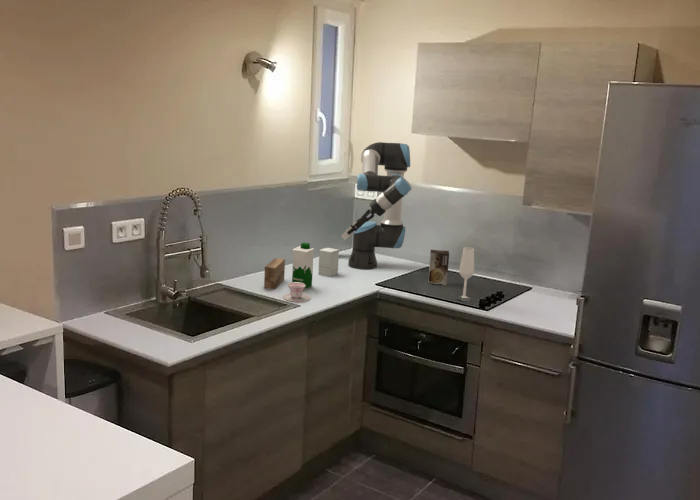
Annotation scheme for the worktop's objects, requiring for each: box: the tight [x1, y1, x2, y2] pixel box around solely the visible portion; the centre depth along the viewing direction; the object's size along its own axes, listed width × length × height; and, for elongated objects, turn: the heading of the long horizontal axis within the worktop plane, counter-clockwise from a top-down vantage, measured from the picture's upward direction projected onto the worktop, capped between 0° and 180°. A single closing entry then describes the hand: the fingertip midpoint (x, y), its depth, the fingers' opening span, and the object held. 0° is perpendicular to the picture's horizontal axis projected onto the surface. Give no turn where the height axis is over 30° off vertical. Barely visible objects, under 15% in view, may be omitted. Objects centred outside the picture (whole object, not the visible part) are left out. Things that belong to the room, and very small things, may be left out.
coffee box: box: [427, 249, 450, 286], centre depth 341 cm, size 9×6×16 cm
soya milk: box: [291, 242, 315, 290], centre depth 322 cm, size 9×9×20 cm
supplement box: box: [318, 247, 340, 277], centre depth 347 cm, size 7×7×13 cm
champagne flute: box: [458, 246, 475, 298], centre depth 316 cm, size 7×7×24 cm
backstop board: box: [263, 257, 286, 290], centre depth 325 cm, size 5×17×10 cm, turn 171°
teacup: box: [282, 281, 311, 303], centre depth 306 cm, size 12×12×6 cm
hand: (344, 235), depth 319 cm, fingers open, 11 cm apart
